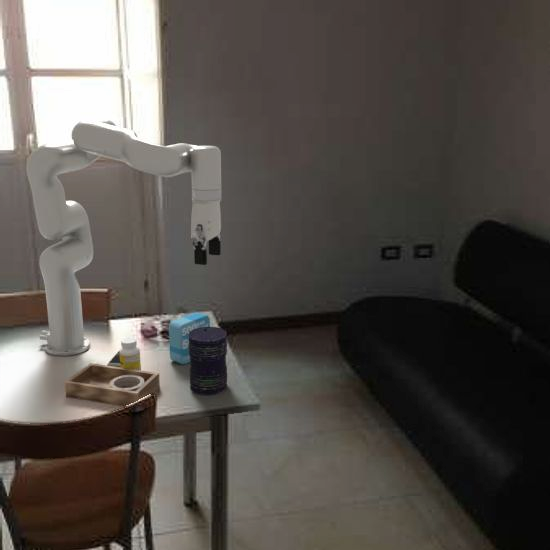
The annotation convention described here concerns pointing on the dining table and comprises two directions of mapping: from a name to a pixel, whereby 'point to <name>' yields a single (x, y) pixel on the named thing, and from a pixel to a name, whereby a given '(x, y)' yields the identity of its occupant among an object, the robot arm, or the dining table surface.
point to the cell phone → (115, 361)
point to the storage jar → (208, 360)
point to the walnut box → (111, 384)
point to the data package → (184, 335)
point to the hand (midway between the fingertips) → (207, 259)
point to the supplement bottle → (129, 354)
